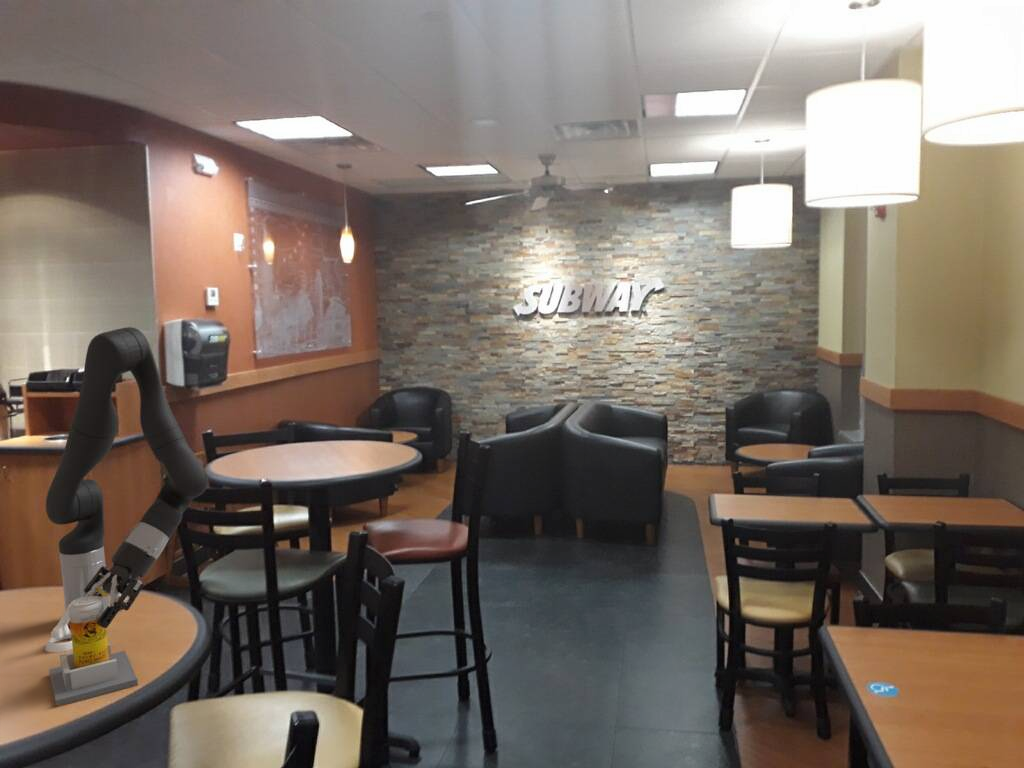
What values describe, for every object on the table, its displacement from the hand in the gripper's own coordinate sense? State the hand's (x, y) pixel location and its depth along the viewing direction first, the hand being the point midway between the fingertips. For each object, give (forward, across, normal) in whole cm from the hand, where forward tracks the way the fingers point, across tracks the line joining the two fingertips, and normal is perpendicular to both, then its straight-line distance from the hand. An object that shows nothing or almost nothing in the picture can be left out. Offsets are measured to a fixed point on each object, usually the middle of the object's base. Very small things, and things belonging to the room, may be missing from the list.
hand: (90, 621), depth 162 cm
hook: (+6, -22, +12) cm, 26 cm away
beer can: (+8, 0, +7) cm, 11 cm away
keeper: (+9, 0, +8) cm, 12 cm away
